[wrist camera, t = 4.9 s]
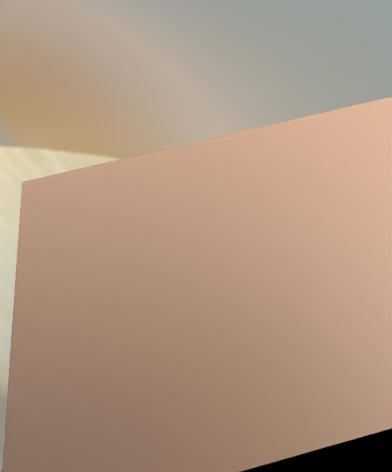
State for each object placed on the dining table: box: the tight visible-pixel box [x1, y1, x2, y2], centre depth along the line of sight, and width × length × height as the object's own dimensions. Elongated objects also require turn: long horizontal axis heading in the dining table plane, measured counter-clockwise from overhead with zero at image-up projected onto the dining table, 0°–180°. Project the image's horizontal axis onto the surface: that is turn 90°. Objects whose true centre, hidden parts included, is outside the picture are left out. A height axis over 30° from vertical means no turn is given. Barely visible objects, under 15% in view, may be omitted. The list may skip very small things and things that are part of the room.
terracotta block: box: [2, 97, 392, 472], centre depth 9 cm, size 5×5×14 cm
